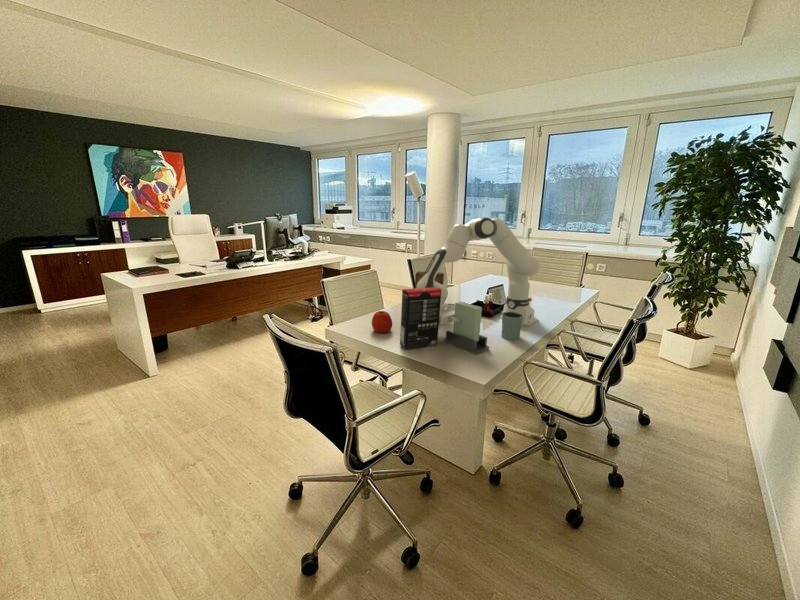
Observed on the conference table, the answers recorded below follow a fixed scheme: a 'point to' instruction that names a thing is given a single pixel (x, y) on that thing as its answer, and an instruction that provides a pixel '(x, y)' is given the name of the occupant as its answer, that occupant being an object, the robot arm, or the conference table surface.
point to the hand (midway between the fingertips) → (464, 319)
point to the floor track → (467, 342)
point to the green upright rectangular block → (467, 320)
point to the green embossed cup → (511, 325)
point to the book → (438, 279)
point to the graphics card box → (420, 317)
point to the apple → (382, 322)
